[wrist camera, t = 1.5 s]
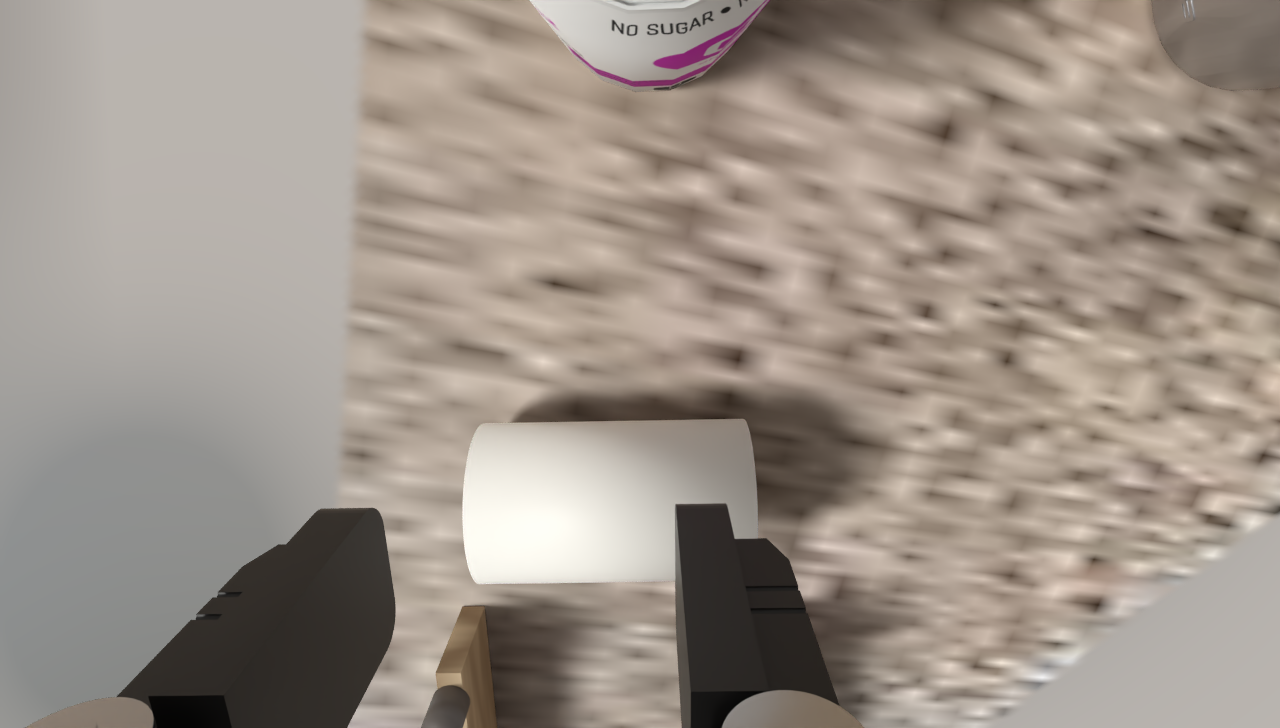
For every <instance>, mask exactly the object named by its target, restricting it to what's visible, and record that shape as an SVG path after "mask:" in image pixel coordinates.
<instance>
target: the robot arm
mask: <svg viewBox="0 0 1280 728" xmlns="http://www.w3.org/2000/svg"><path fill="white" fill-rule="evenodd" d="M1151 2H1152V10H1153V18H1154V24H1155V27H1156V30H1157V32H1158V35H1159V38H1160V41H1161V44H1162V46H1163V47H1164V49H1165V50H1166V52H1167V53H1168V55H1169V56H1170V58H1171V59H1172V60H1173V62H1174V63H1175V64H1176V65H1177V66H1178V67H1179V68H1181V69H1182V70H1183V71H1184V72H1185V73H1186V74H1187V75H1189V76H1190V77H1191V78H1193V79H1195V80H1198V81H1200V82H1202V83H1204V84H1206V85H1208V86H1210V87H1215V88H1220V89H1225V90H1231V91H1236V90H1258V89H1268V88H1278V87H1280V0H1151ZM675 595H676V635H677V654H678V671H679V688H680V704H681V721H682V728H864V727H863V726H862V725H861V723H860V722H859V721H858V720H857V719H855V718H854V717H853V716H852V715H851V714H850V713H849V712H847V711H846V710H844V709H843V708H842V707H840V705H839V703H838V701H837V698H836V695H835V692H834V689H833V686H832V683H831V680H830V677H829V674H828V672H827V669H826V666H825V663H824V660H823V657H822V654H821V651H820V648H819V645H818V643H817V640H816V637H815V634H814V631H813V628H812V625H811V622H810V619H809V616H808V613H806V610H805V605H804V602H803V599H802V596H801V593H800V591H798V584H797V582H796V579H795V576H794V573H793V570H792V567H791V564H790V561H789V559H788V558H787V557H785V556H784V555H783V554H782V553H781V552H780V551H779V550H778V549H777V548H776V547H775V546H774V545H773V544H772V543H771V542H770V541H769V540H767V539H766V538H761V539H735V538H734V533H733V529H732V524H731V520H730V515H729V511H728V507H727V504H726V503H713V504H675ZM196 615H197V617H196V620H190V622H188V624H187V625H186V626H185V627H184V628H183V629H182V630H181V631H180V632H179V633H178V634H177V635H176V636H175V637H174V638H173V639H172V640H171V641H170V642H169V643H168V644H167V645H166V646H165V647H164V648H163V649H162V650H161V651H160V653H159V654H158V655H157V656H156V657H155V658H154V659H153V660H152V661H151V662H150V663H149V664H148V665H147V666H146V667H145V668H144V669H143V670H142V671H141V672H140V673H139V674H138V675H137V676H136V677H135V678H134V679H133V680H132V681H131V682H130V684H129V685H127V687H126V688H125V689H124V690H123V691H122V692H121V693H120V694H119V695H118V696H117V697H110V698H102V699H96V700H92V701H87V702H83V703H80V704H77V705H74V706H71V707H68V708H65V709H63V710H60V711H58V712H56V713H53V714H50V715H48V716H47V717H44V718H42V719H40V720H38V721H36V722H34V723H32V724H31V725H29V726H27V727H25V728H347V727H348V725H349V723H350V721H351V719H352V717H353V715H354V713H355V711H356V709H357V707H358V705H359V703H360V702H361V700H362V698H363V696H364V694H365V692H366V690H367V688H368V686H369V684H370V682H371V680H372V678H373V676H374V675H375V673H376V671H377V669H378V667H379V665H380V663H381V661H382V659H383V657H384V655H385V653H386V651H387V649H388V647H389V645H390V642H391V639H392V635H393V630H394V624H395V597H394V590H393V584H392V577H391V570H390V564H389V557H388V551H387V544H386V537H385V531H384V525H383V520H382V517H381V515H380V513H379V511H378V510H377V509H375V508H339V509H320V510H318V511H317V512H316V513H314V515H313V516H312V517H311V518H310V519H309V520H308V521H307V522H306V523H305V524H304V526H303V527H302V528H301V529H300V530H299V531H298V532H297V533H296V534H295V535H294V537H293V538H292V539H291V540H290V541H289V542H288V543H287V544H286V545H277V546H276V547H274V548H272V549H271V550H269V551H267V552H266V553H264V554H262V555H261V556H259V557H258V558H256V559H254V560H253V561H251V562H249V563H248V564H246V565H244V566H243V567H242V568H241V569H240V570H239V571H238V572H237V573H236V574H235V575H234V576H233V577H232V578H231V579H230V580H229V581H228V582H227V583H226V584H225V585H224V587H222V588H221V590H220V591H219V592H218V596H217V598H212V599H211V600H210V601H209V602H208V603H207V604H206V605H205V606H204V607H203V608H202V609H201V610H200V611H199V612H198V613H197V614H196Z"/></svg>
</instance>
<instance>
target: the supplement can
mask: <svg viewBox="0 0 1280 728" xmlns="http://www.w3.org/2000/svg"><path fill="white" fill-rule="evenodd" d="M530 1H531V3H532V4H533V5H534V6H535V8H536V9H537V10H538V12H539V13H540V14H541V15H542V17H543V18H544V19H545V20H546V22H547V23H548V24H549V25H550V27H551V28H552V29H553V30H554V32H555V33H556V34H557V36H558V37H559V38H560V39H561V41H562V42H563V43H564V44H565V46H566V47H567V48H568V49H569V51H570V52H571V53H572V55H573V56H574V57H575V58H576V59H577V60H578V61H580V62H581V63H582V64H583V65H584V66H586V67H587V68H588V69H589V70H591V71H592V72H593V73H594V74H595V75H597V76H598V77H599V78H600V79H601V80H603V81H606V82H608V83H611V84H614V85H617V86H620V87H623V88H626V89H629V90H631V91H634V92H641V91H668V90H671V89H674V88H676V87H678V86H681V85H683V84H685V83H688V82H690V81H692V80H695V79H697V78H699V77H701V76H702V75H703V74H704V73H706V72H707V71H708V70H709V69H710V68H711V67H712V66H713V65H714V64H715V63H716V62H717V61H718V60H719V59H720V58H721V57H722V56H723V55H725V54H726V53H727V52H728V50H729V49H730V48H731V47H732V46H733V44H734V43H735V42H736V41H737V40H738V38H739V37H740V36H741V35H742V34H743V32H744V31H745V30H746V29H747V28H748V26H749V25H750V24H751V23H752V21H753V20H754V19H755V18H756V17H757V15H758V14H759V13H760V12H761V11H762V9H763V8H764V7H765V6H766V5H767V3H768V2H769V1H770V0H530Z"/></svg>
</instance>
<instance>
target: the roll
mask: <svg viewBox="0 0 1280 728" xmlns="http://www.w3.org/2000/svg"><path fill="white" fill-rule="evenodd" d="M713 503H726V504H727V507H728V511H729V515H730V520H731V524H732V529H733V533H734V538H735V539H758V502H757V484H756V472H755V462H754V454H753V447H752V441H751V436H750V431H749V428H748V425H747V422H746V420H745V419H703V420H645V421H588V422H530V423H483V424H481V425H480V426H479V427H478V428H477V430H476V432H475V434H474V436H473V439H472V442H471V445H470V449H469V453H468V458H467V464H466V470H465V479H464V490H463V536H464V546H465V553H466V559H467V564H468V568H469V571H470V574H471V576H472V578H473V580H474V581H475V582H476V583H478V584H519V583H592V582H666V581H675V504H713Z"/></svg>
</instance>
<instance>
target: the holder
mask: <svg viewBox="0 0 1280 728" xmlns="http://www.w3.org/2000/svg"><path fill="white" fill-rule="evenodd" d="M436 680H437V687H438V690H437V691H436V692H435V693H434V696H433V698H432V701H431V703H430V706H429V708H428V711H427V713H426V716H425V719H424V721H423V724H422V726H421V728H497V720H496V710H495V701H494V691H493V682H492V672H491V663H490V653H489V644H488V634H487V625H486V615H485V606H470V607H462V609H461V612H460V614H459V617H458V619H457V622H456V624H455V627H454V629H453V632H452V634H451V637H450V639H449V641H448V644H447V646H446V649H445V651H444V654H443V656H442V659H441V661H440V664H439V666H438V669H437V671H436Z"/></svg>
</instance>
